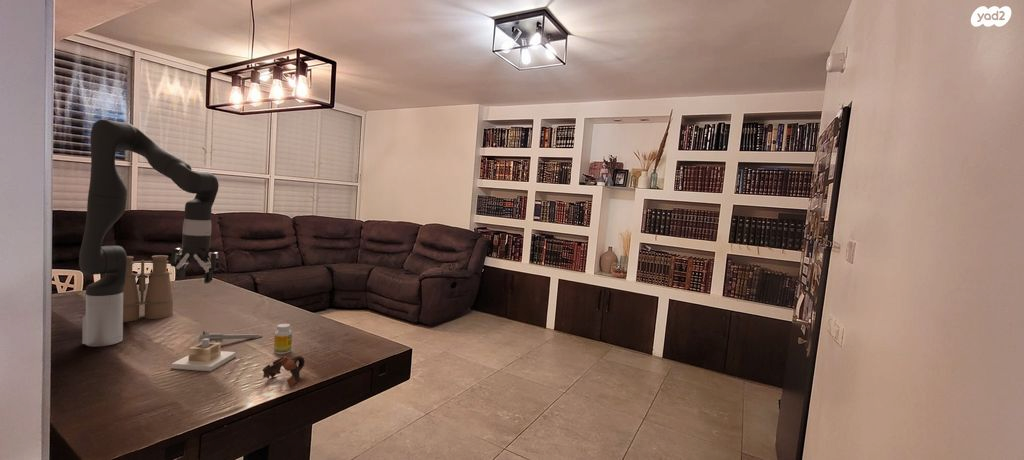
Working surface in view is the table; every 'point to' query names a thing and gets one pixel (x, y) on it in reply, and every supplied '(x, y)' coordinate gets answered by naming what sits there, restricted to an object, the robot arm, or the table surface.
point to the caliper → (226, 336)
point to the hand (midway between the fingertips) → (194, 281)
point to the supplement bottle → (283, 339)
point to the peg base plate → (204, 366)
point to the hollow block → (204, 352)
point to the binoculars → (148, 290)
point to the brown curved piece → (288, 365)
